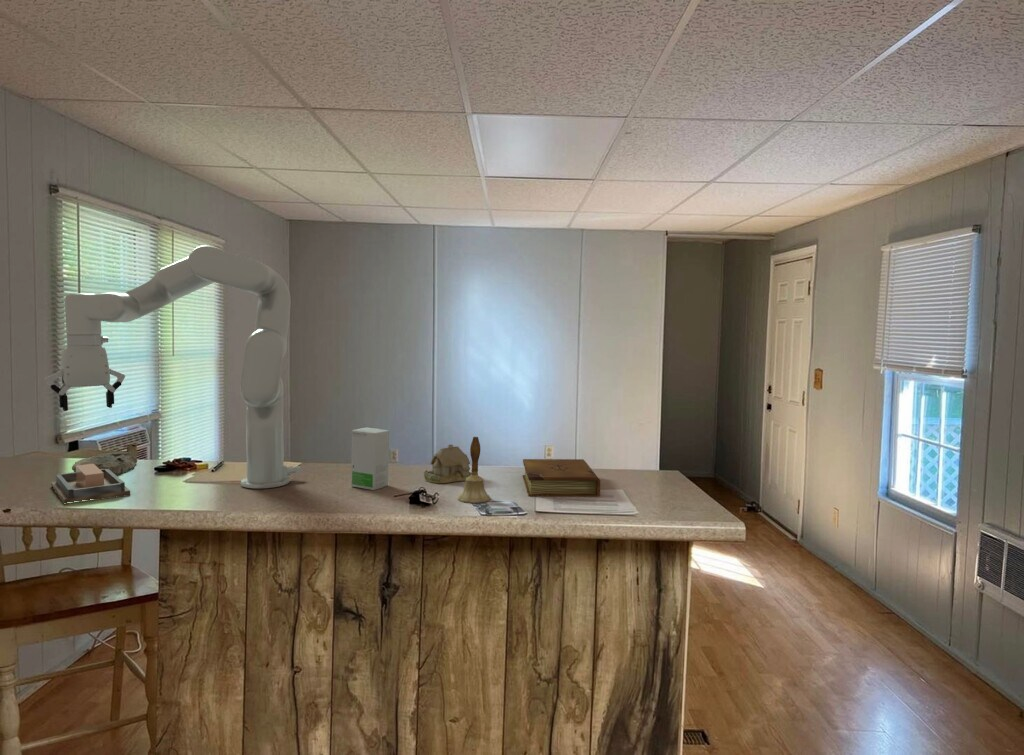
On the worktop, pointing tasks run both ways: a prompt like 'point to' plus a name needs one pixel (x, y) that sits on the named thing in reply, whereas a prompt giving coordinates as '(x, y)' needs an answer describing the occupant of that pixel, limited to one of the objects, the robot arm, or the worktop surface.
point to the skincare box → (369, 458)
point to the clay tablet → (110, 462)
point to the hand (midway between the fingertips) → (87, 408)
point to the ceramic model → (448, 466)
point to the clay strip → (89, 476)
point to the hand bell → (474, 479)
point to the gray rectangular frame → (73, 492)
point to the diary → (560, 478)
